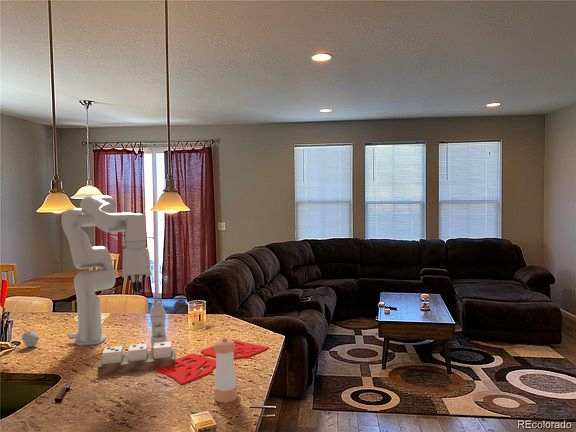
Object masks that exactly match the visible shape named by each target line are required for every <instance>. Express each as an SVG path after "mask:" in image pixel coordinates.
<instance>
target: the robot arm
mask: <svg viewBox="0 0 576 432" xmlns="http://www.w3.org/2000/svg"><path fill="white" fill-rule="evenodd" d="M116 210H117V203H116V200H115V199H114V198H113V197H112V196H109V195H88V196H86V197H84V198H82V200H80V203H79V207H77V208H76V207H74V208H70V209H67V210H65V211H63V213H62V215H61V226H62V229H63V232H64V234H65V236H66V238H67V240H68V244H69V249H70V254H71V259H72V262H73V266H74V267H75V268H76V269H78V270H84V271H81V272H79V273H78V274H76V275H75V276H74V278H73V285H74V290H75V295H76V307H77V310H76V311H77V329H78V331H77V332H76V333H68V334H67V339H69V340H74V344H75V345H76V346H80V347H81V346H82V347H83V346H93V345H98V344H101V343H103V342H104V341H106V339H107V338H106V335H104V334H103V332H102V330H103V329H102V308H101V307H102V306H101V299H100V297H99V296H98V295H97V294H96V292H99V291H105V290H110V289H112V288H113V287H114V286H115V285H116V282H117V281H116V273H115V269H114V265H113V260H112V256H111V253H110V251H109V250H108V248H107V247H106V246H103V245H98V246H97V245H95V246H92V244H91V241H90V237H89V235H88V234H87V233H86V231H84V230H83V229H82V228H83V227H84V228H85V227H87V228H88V227H96V228H98V230H99V229H100V230H101V231H102V232H105V233H113V234H114V233H121V232H125V233H124V235H125V241H124V242H121V246H122V247H125V249H123V252H122V275H121V277H122V278H123V279H128V280H129V281H131V282H132V291H134V293H135V294H136V293H137V292H138V293H141V291H142V289H143V287H142V286H143V281H144V279H146V278H148V277H152V274H153V273H152V271H151V259H150V258H151V257H150V256H151V255H150V251H149V248H148V247H147V238H146V237H147V234H146V233H147V231H146V230H147V228H146V215H144V213H134V212H116ZM92 268H97V269H92ZM85 269H91V270H86V271H85ZM137 275H138V281H137V279H136V276H137Z"/></svg>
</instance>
